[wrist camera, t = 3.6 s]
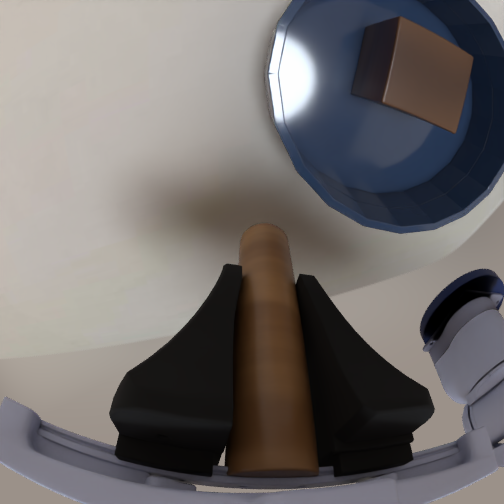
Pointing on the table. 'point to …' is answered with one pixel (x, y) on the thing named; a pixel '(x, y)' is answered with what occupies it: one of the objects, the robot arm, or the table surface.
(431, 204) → the bowl
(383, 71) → the block
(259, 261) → the rod
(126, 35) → the table surface
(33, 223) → the table surface
